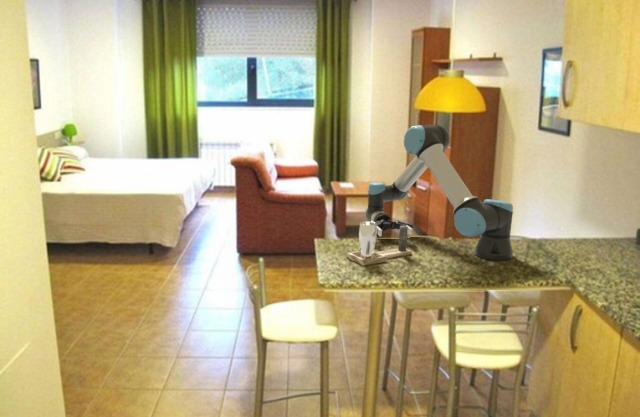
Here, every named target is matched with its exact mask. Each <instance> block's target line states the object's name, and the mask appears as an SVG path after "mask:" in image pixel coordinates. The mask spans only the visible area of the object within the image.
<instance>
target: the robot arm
mask: <svg viewBox="0 0 640 417" xmlns="http://www.w3.org/2000/svg"><path fill="white" fill-rule="evenodd" d="M450 142H451V135H450V133H449V131H448V130H447V128H445V127H444V126H443V125H440V124H426V125H425V124H424V125H422V124H421V125H420V124H417V125H413V126H411V127H409V128H408V129H407V130H406V132H405V133H404V139H403V147H404V149H405V151H406V152H407V153H408V154H411V155H415V157H414V158H413V159H412V160H411V161H410V163H409V164H407V166H406V167H405V169H404V170H403V171H402V172H401V174H399V176H398V177H397V178H396V179H395V180H394V182H393V183H392V184H390V185H389V184H388V185H385V183H383V182H380V181H373V182H370V183H369V184H368V185H369V186H368V191H367V192H368V194H367V195H368V197H367V207H366V209H365V212H364V215H365V218H366V219H367V221H371V222H375V223H377V235H378V236H379V237H382V232H383V231H387V230H388V229H389V230H400V226H408V230H407V235H410V236H413V229H414V226H413V225H414V224H412V223H407V222H405V221H401V220H398V219H397V220H396V221H395V220H392V218H391V217H390V215H388V214H387V213H385V212H384V207H385V203H386V202H393V201H401V200H404V199H406V198H407V197H408V196H409V190H410V188H411V187H412V186H413V185H414V184H415V182H417V181H418V179H419V178H420V177H421V176H422V175H423V174H424V173H425V171H426V170H427V169H428V170H429V172H430V173H431V174H432V176H433V178H434V179H435V180H436V182H437V184H438V185H439V187H440V188H441V189H442V191H443V193H444V194H445V196H446V197H447V198H448V201H449V202H450V204H451V205H452V207H453V210H452V214H453V215H454V216H453V220H454V222H453V224H454V227H455V229H456V231H457V232H458V233H459V234H460V235H462V236H465V237H467V238H476V237H479V239H478V240H477V244H476V246H475V248H474V255H475V256H477V257H479V258H482V259H485V260H490V261H508V260H512V259H513V256H514V250H513V248H512V243H511V230H512V223H513V222H512V220H513V215H514V214H513V213H514V210H513V209H514V206H513V204H512V203H510V202H508V201H504V200H499V199H489V198H487V199H484V200H483V202H482V201H481V199H480V198H479V197H478V196H475V195H473V194H472V192H470V190H469V189H468V187H467V185H466V184H465V183H464V181H463V179H462V178H461V177H460V175H459V174H458V172H457V170H456V169H455V167H454V166H453V165H452V163H451V161H450V160H449V158H448V157H447V156H446V154H445V153H446V151H447V150H448V148H449V146H450V144H451V143H450Z"/></svg>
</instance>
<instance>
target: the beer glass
mask: <svg viewBox="0 0 640 417" xmlns="http://www.w3.org/2000/svg"><path fill="white" fill-rule="evenodd" d="M358 230H359V231H358V238H359V239H358V240H359V247H360V250H359V251H360V258H363V259H369V258H375V257H374V251H375V246H376V241H377V237H378V236H377V235H378V234H377V223H375V222H371V221H368V220H367V221H366V220H365V221H363V220H362V221H360V222H359V229H358Z"/></svg>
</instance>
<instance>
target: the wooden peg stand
mask: <svg viewBox="0 0 640 417" xmlns="http://www.w3.org/2000/svg"><path fill="white" fill-rule="evenodd" d="M407 230H408V226H400V229H399V232H398V233H399V235H398V236H399V237H398V248H395V249H394V248H393V249H388V250H382V251H381V250H380V251H375V250H374V258H369V259H363V258H360V251H361V250H357V251H350V252H347V253H346V258H347V259H348V260H351V261H353V262H355V263H357V264H359V265H361V266H369V265H374V264H380V263H386V262H388V259H392V258H398V257H403V256H410V255H412V254H413V253H412V252H413V250H412V249H409V248H407V243H408V233H407Z"/></svg>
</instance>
